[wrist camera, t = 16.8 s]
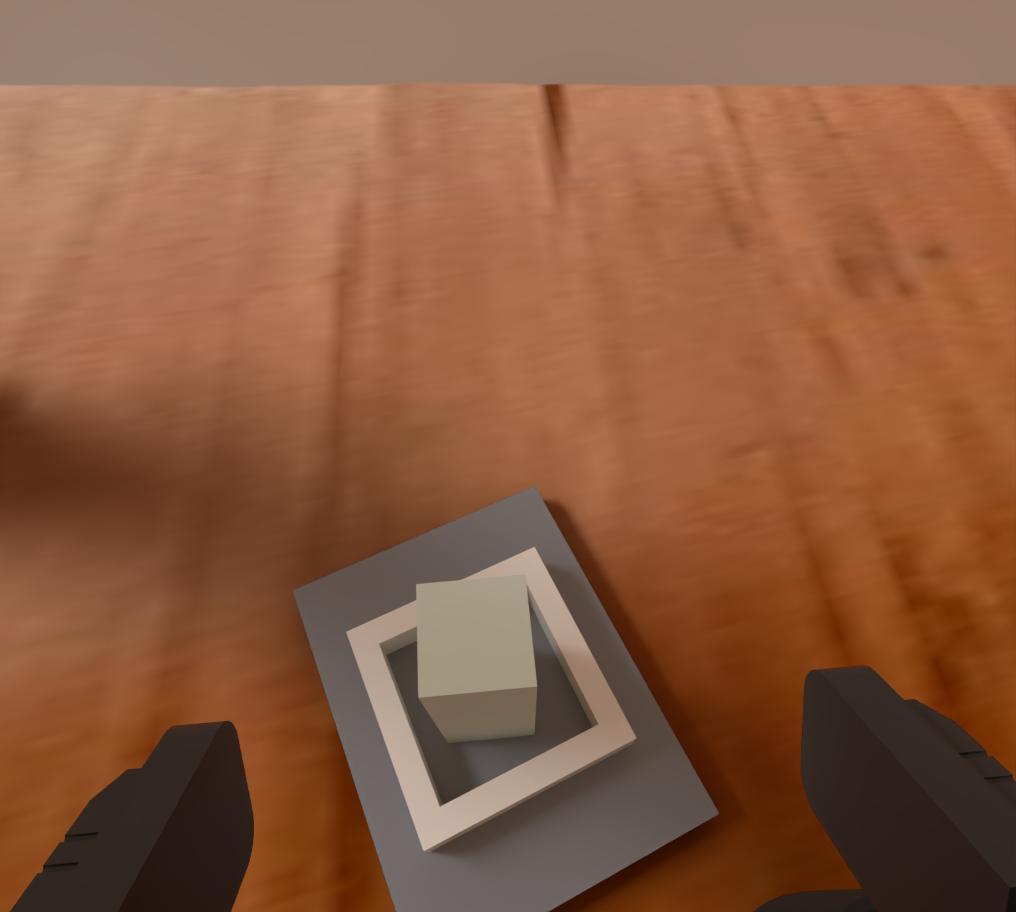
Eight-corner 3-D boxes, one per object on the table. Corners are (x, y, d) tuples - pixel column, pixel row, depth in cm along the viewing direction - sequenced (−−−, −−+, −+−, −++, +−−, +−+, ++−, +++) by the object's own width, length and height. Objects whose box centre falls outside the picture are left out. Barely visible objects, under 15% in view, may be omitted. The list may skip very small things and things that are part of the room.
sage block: (534, 734, 32) (537, 686, 23) (447, 743, 32) (418, 697, 23) (525, 648, 34) (525, 574, 25) (444, 655, 34) (416, 584, 25)
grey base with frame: (300, 599, 37) (280, 576, 34) (534, 498, 40) (535, 467, 37) (424, 979, 28) (412, 993, 25) (711, 815, 31) (730, 810, 28)
